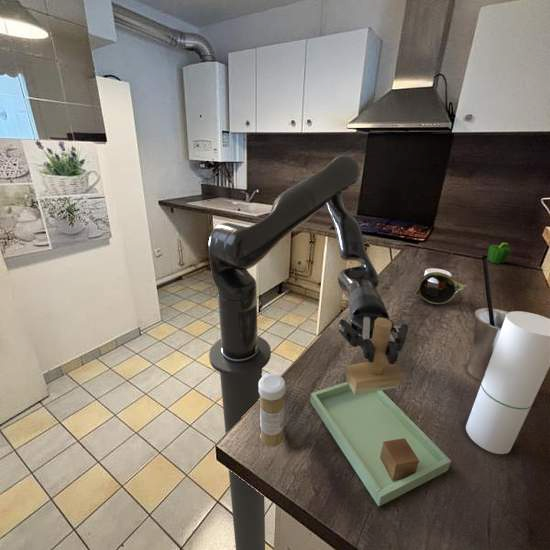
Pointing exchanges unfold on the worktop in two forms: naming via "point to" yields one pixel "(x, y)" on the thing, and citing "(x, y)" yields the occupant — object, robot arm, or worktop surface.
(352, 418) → the tray
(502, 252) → the bell pepper
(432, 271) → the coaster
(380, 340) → the wooden stamp
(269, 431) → the sprinkles bottle
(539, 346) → the cylindrical container
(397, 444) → the cork cube
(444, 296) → the pot
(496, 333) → the glass
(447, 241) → the worktop surface
